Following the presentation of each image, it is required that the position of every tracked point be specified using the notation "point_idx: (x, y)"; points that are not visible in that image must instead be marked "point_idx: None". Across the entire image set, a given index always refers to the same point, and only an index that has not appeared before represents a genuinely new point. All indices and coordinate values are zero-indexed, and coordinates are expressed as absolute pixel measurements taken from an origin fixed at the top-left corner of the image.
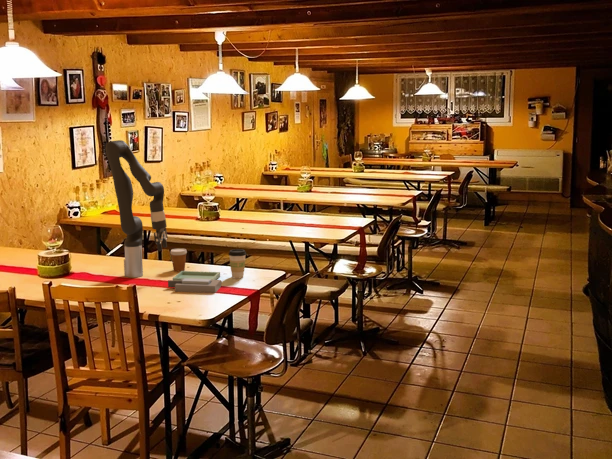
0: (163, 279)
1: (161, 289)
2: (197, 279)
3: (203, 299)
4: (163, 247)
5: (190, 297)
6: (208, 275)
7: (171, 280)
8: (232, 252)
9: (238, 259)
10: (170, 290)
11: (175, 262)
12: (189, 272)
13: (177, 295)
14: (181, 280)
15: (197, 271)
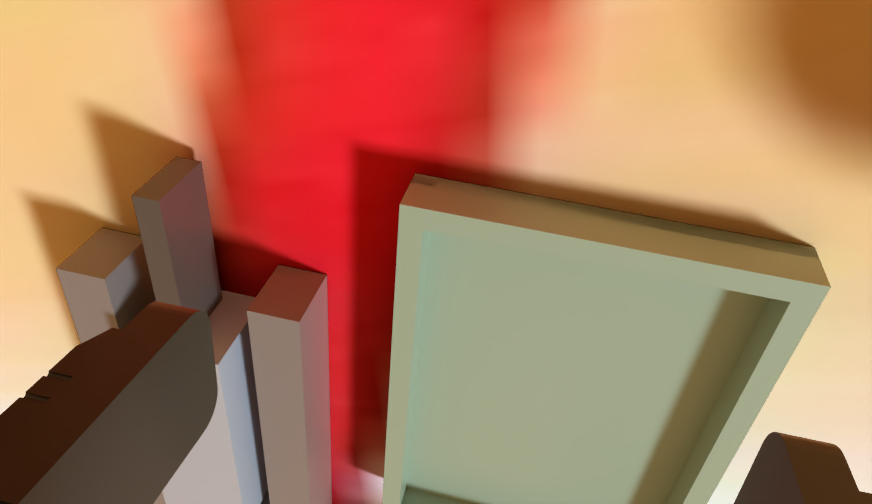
0: (600, 21)
1: (118, 83)
2: (207, 454)
3: (4, 408)
4: (771, 437)
5: (4, 340)
6: (659, 491)
7: (159, 232)
8: None
9: None
10: (117, 182)
11: None
12: (750, 364)
13: (4, 254)
14: (251, 314)
15: (738, 445)
